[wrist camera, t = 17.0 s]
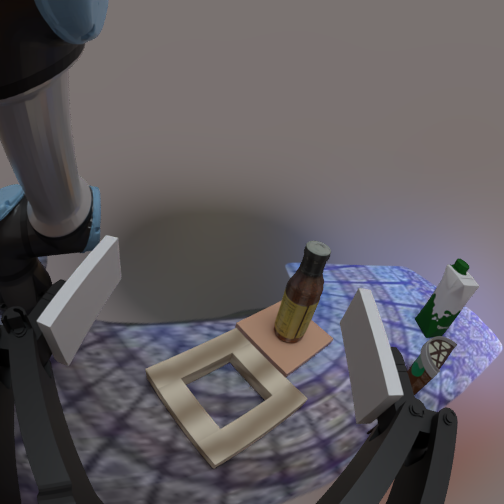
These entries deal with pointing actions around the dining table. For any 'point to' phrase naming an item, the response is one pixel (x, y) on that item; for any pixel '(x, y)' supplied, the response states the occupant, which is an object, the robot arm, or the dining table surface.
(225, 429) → the bottle stand
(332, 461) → the dining table surface
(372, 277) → the dining table surface
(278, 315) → the sauce bottle
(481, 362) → the dining table surface
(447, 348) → the food container
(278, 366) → the terracotta tile
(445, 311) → the milk carton
